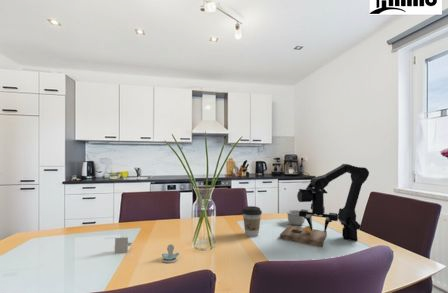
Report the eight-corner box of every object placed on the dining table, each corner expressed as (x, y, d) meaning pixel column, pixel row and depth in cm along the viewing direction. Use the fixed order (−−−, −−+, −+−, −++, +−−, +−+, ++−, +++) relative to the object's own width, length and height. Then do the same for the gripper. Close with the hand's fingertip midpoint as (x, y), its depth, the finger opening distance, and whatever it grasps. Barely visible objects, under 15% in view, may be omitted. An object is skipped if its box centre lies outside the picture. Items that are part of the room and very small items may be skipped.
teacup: (307, 227, 141) (307, 214, 141) (289, 226, 141) (289, 214, 141) (300, 220, 155) (300, 208, 155) (284, 220, 155) (284, 208, 155)
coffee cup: (240, 237, 123) (240, 209, 123) (243, 230, 134) (243, 205, 134) (261, 239, 120) (261, 211, 121) (262, 232, 131) (262, 206, 132)
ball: (313, 231, 122) (311, 224, 123) (312, 234, 119) (309, 226, 120) (306, 233, 124) (303, 225, 125) (305, 235, 121) (302, 227, 122)
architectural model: (116, 251, 106) (117, 235, 106) (132, 250, 107) (132, 234, 107) (114, 254, 103) (114, 238, 103) (130, 253, 104) (130, 237, 104)
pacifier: (177, 263, 94) (179, 256, 100) (177, 248, 94) (179, 242, 100) (160, 264, 93) (162, 257, 99) (160, 249, 93) (162, 243, 99)
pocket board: (326, 235, 125) (326, 231, 125) (322, 247, 110) (322, 242, 110) (288, 229, 136) (288, 225, 136) (280, 238, 121) (280, 234, 121)
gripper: (338, 200, 122) (338, 230, 121) (302, 197, 132) (303, 224, 131) (336, 204, 113) (337, 236, 112) (298, 200, 122) (298, 230, 121)
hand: (318, 231), depth 119 cm, fingers open, 6 cm apart
